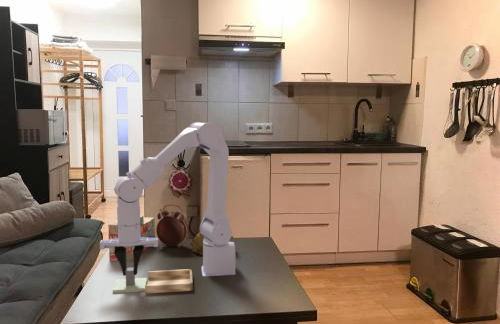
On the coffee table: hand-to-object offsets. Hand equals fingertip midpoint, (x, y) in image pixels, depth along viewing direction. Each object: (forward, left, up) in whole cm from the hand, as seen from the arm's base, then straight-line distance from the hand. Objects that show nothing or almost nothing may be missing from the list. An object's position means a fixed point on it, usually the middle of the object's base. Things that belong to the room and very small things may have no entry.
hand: (130, 273), depth 106 cm
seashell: (-24, -27, -4) cm, 36 cm away
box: (-10, 0, -4) cm, 11 cm away
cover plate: (0, 0, -3) cm, 3 cm away
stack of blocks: (+3, -31, -4) cm, 31 cm away
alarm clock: (-10, -34, -4) cm, 36 cm away
